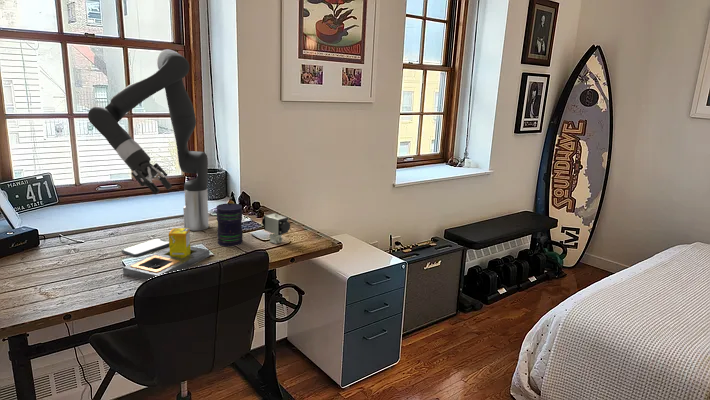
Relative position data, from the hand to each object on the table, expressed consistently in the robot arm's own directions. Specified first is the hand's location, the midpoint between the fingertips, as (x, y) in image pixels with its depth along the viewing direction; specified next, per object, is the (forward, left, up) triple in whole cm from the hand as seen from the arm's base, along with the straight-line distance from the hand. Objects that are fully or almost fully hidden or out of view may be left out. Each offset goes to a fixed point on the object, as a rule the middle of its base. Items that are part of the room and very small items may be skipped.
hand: (164, 190), depth 171 cm
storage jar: (+12, +21, -25) cm, 35 cm away
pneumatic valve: (+28, +30, -25) cm, 48 cm away
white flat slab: (-11, +1, -25) cm, 27 cm away
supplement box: (+7, -2, -25) cm, 26 cm away
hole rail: (+7, -8, -24) cm, 26 cm away
